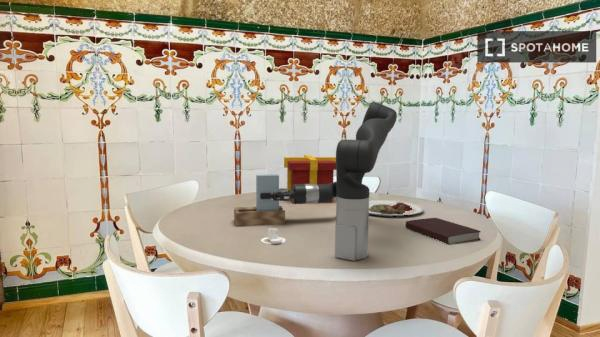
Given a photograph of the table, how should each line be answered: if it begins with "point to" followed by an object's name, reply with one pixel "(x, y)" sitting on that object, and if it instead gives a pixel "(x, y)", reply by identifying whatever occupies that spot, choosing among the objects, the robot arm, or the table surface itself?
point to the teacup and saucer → (273, 237)
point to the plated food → (392, 208)
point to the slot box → (258, 216)
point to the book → (443, 230)
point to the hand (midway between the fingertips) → (260, 195)
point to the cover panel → (266, 186)
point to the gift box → (309, 170)
